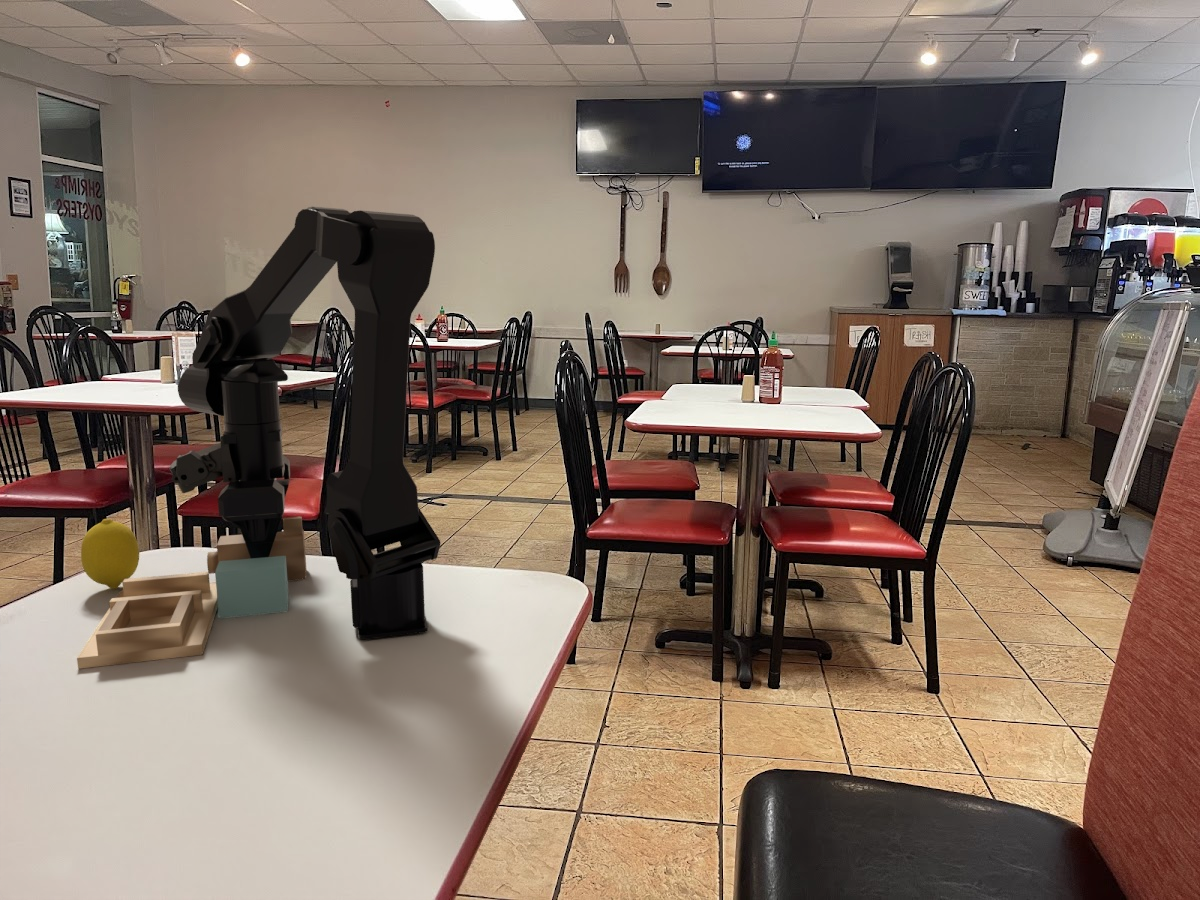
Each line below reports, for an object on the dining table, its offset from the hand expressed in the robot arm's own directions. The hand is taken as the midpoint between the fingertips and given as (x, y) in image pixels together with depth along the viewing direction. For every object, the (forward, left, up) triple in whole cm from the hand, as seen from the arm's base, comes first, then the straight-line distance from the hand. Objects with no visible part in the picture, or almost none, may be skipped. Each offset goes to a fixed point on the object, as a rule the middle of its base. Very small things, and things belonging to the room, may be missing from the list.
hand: (262, 555), depth 97 cm
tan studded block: (0, 0, -3) cm, 3 cm away
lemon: (+15, -1, -3) cm, 16 cm away
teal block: (0, +9, -3) cm, 10 cm away
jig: (+9, +11, -3) cm, 15 cm away
